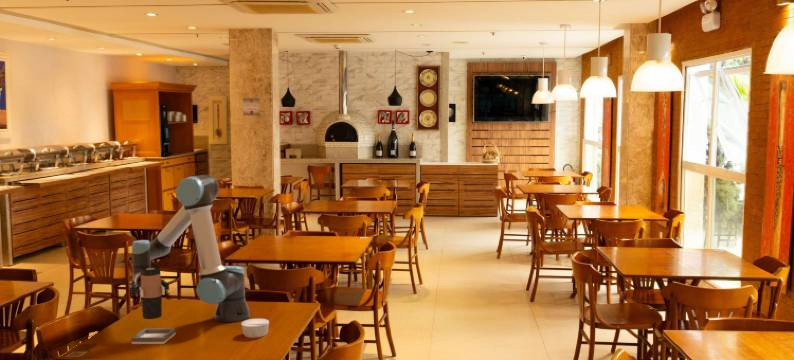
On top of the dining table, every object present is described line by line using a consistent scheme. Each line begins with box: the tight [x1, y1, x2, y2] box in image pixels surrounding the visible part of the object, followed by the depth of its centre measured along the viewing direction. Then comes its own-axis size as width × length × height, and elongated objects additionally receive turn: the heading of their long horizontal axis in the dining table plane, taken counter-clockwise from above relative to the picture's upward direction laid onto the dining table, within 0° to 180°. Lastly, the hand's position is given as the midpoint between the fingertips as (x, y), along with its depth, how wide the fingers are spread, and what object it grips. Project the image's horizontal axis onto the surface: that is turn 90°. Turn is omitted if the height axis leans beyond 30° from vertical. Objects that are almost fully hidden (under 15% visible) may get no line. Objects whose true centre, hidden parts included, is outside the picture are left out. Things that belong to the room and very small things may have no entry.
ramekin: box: [240, 318, 270, 339], centre depth 297 cm, size 11×11×5 cm
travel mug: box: [141, 265, 163, 320], centre depth 293 cm, size 8×8×20 cm
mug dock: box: [130, 328, 177, 345], centre depth 294 cm, size 13×13×2 cm
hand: (152, 292), depth 288 cm, fingers closed on travel mug, 7 cm apart
